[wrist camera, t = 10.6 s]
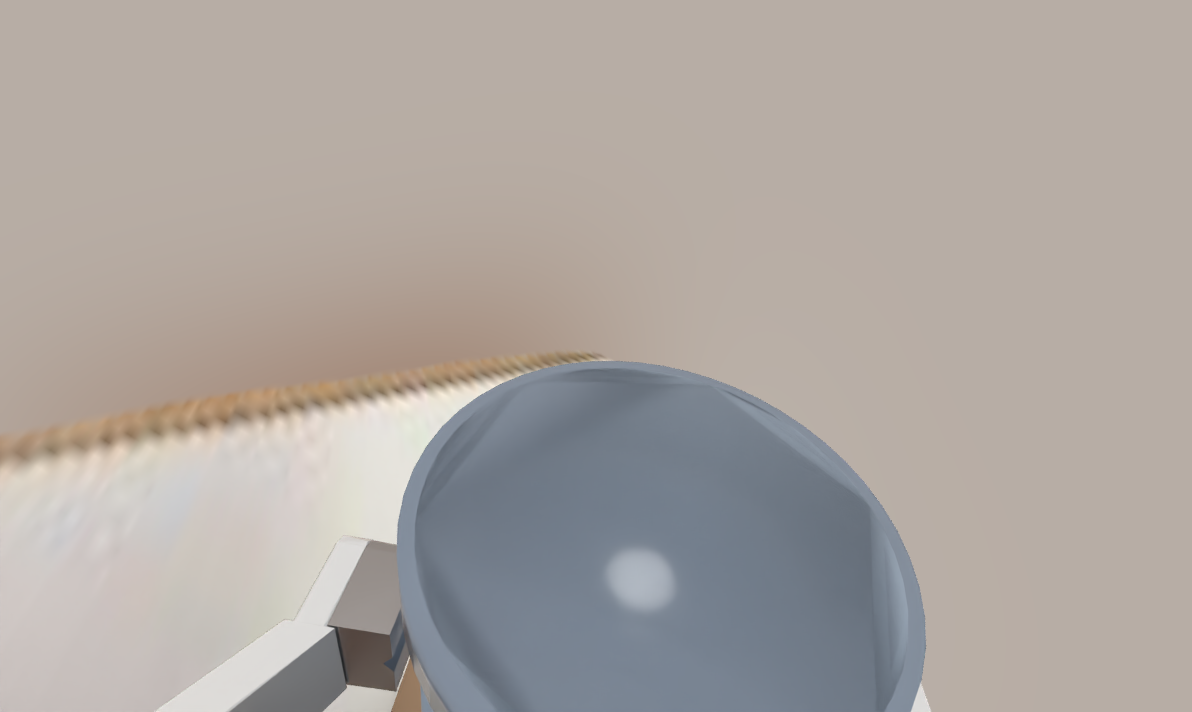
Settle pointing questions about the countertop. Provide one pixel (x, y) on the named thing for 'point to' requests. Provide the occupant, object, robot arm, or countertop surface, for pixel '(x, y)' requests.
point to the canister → (649, 556)
